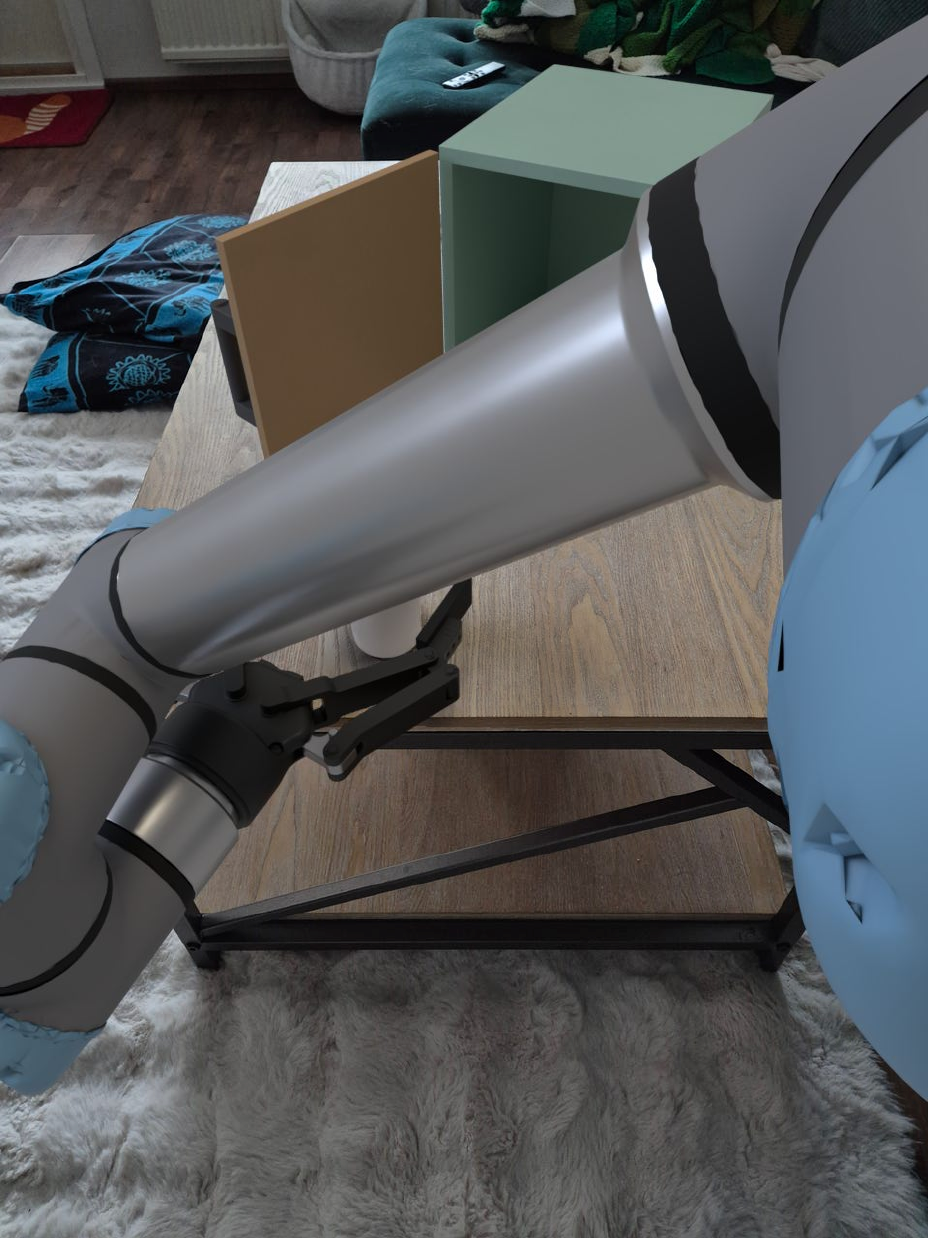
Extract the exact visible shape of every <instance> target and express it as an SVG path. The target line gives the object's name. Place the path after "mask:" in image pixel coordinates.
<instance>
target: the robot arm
mask: <svg viewBox="0 0 928 1238" xmlns="http://www.w3.org/2000/svg"><path fill="white" fill-rule="evenodd" d="M718 486H722V487H728V488H731V489H733V490H734V491H737V492H739V493H741V494H743V495H746V496H748V497H751V498H753V499H755V500H757V501H759V502H763V503H765V504H768V503H773V502H777V501H779V500H781V526H782V527H781V533H782V536H781V537H782V541H781V542H782V579H783V580H782V582H783V584H782V586H781V588H780V591H779V595H778V601H777V606H776V610H775V615H774V620H773V625H772V629H771V633H770V634H771V635H770V640H769V643H768V649H767V650H768V651H767V652H768V655H767V659H768V660H767V670H766V671H767V672H766V684H767V702H766V703H767V704H766V718H767V719H766V720H767V733H768V735H769V739H770V742H771V745H772V750H773V754H774V756H775V760H776V761H775V762H776V764H777V768H778V775H779V781H780V788H781V799H782V803H783V807H784V808H785V810H786V812H787V814H788V817H789V831H790V847H791V858H792V859H791V860H792V871H793V879H794V880H793V881H794V887H795V891H796V896H797V900H798V901H797V902H798V905H799V906H798V907H799V909H800V914H801V919H802V921H803V925H804V927H805V931H806V933H807V936H808V939H809V942H810V945H811V948H812V950H813V951H814V955H815V957H816V958H817V961H818V964H819V966H820V968H821V971H822V972H823V974H824V977H825V979H826V980H827V982H828V984H829V986H830V988H831V990H832V992H833V993H834V995H835V996H836V998H837V1000H838V1001H839V1003H840V1005H841V1007H842V1008H843V1011H845V1012H846V1014H847V1015H848V1017H849V1019H851V1021H852V1023H853V1024H854V1025H855V1027H856V1028H857V1029H858V1031H859V1032H860V1033H861V1034H862V1035H863V1037H864V1038H865V1039H866V1040H867V1041H868V1043H869V1044H870V1046H871V1047H872V1048H873V1049H874V1050H875V1051H876V1053H877V1054H878V1055H879V1056H880V1057H881V1059H882V1060H883V1061H884V1062H885V1063H886V1064H887V1065H888V1066H889V1068H891V1069H892V1070H893V1071H894V1072H895V1074H897V1075H898V1076H899V1078H901V1080H902V1081H904V1082H905V1084H906V1085H908V1086H909V1087H910V1088H911V1089H912V1090H913V1091H914V1092H916V1093H917V1094H918V1095H919V1096H920V1097H921V1098H922V1099H924V1100H925V1101H926V1102H927V1103H928V14H927V15H924V16H923V17H922V18H920V19H919V20H916V21H915V22H914V23H912V24H909V25H908V26H906V27H905V28H903V29H902V30H900V31H898V32H896V33H895V34H893V35H891V36H890V37H888V38H886V39H884V40H883V41H881V42H879V43H878V44H876V45H874V46H873V47H871V48H869V49H868V50H866V51H864V52H863V53H861V54H860V55H857V56H856V57H854V58H853V59H851V60H849V61H848V62H845V63H844V64H843V65H841V66H839V67H838V68H836V69H834V70H833V71H832V72H830V73H828V74H827V75H825V76H824V77H822V78H821V79H819V80H818V81H816V82H815V83H813V84H811V85H810V86H808V87H807V88H805V89H803V90H802V91H800V92H798V93H797V94H796V95H793V96H792V97H791V98H789V99H787V100H786V101H784V102H783V103H782V104H779V105H778V106H777V107H775V108H774V109H773V108H772V109H771V110H770V112H769V113H767V114H766V115H764V116H762V117H761V118H759V119H758V120H756V121H755V122H753V123H751V124H750V125H748V126H747V127H745V128H744V129H742V130H740V131H739V132H737V133H736V134H734V135H733V136H731V137H729V138H728V139H726V140H725V141H723V142H721V143H720V144H718V145H717V146H715V147H714V148H712V149H710V150H709V151H707V152H706V153H704V154H703V155H701V156H699V157H697V158H695V159H694V160H692V161H691V162H689V163H687V164H686V165H684V166H683V167H681V168H679V169H678V170H676V171H674V172H673V173H671V174H670V175H668V176H666V177H665V178H663V179H662V180H660V181H658V182H657V183H656V184H655V185H653V186H652V187H650V188H649V189H647V190H646V191H645V192H644V193H643V194H642V196H641V198H640V201H639V203H638V207H637V210H636V213H635V216H634V219H633V222H632V225H631V229H630V232H629V235H628V238H627V241H626V244H625V245H624V247H623V248H622V249H620V250H619V251H617V252H615V253H613V254H612V255H610V256H608V257H607V258H605V259H603V260H602V261H600V262H598V263H596V264H595V265H593V266H591V267H590V268H588V269H586V270H585V271H583V272H581V273H580V274H578V275H576V276H574V277H573V278H571V279H569V280H568V281H566V282H564V283H563V284H561V285H559V286H558V287H556V288H554V289H552V290H551V291H549V292H547V293H546V294H544V295H542V296H541V297H539V298H537V299H536V300H534V301H532V302H530V303H529V304H527V305H525V306H524V307H522V308H520V309H519V310H517V311H515V312H513V313H512V314H510V315H508V316H507V317H505V318H503V319H502V320H500V321H498V322H497V323H495V324H493V325H491V326H490V327H488V328H486V329H485V330H483V331H481V332H480V333H478V334H476V335H475V336H473V337H471V338H469V339H468V340H466V341H464V342H463V343H461V344H459V345H458V346H456V347H454V348H453V349H451V350H449V351H447V352H446V353H444V354H442V355H441V356H439V357H437V358H436V359H434V360H432V361H430V362H429V363H427V364H425V365H424V366H422V367H420V368H419V369H417V370H415V371H414V372H412V373H410V374H408V375H407V376H405V377H403V378H402V379H400V380H398V381H397V382H395V383H393V384H392V385H390V386H388V387H386V388H385V389H383V390H381V391H380V392H378V393H376V394H375V395H373V396H371V397H370V398H368V399H366V400H364V401H363V402H361V403H359V404H358V405H356V406H354V407H353V408H351V409H349V410H347V411H346V412H344V413H342V414H341V415H339V416H337V417H336V418H334V419H332V420H331V421H329V422H327V423H325V424H324V425H322V426H320V427H319V428H317V429H315V430H314V431H312V432H310V433H309V434H307V435H305V436H303V437H302V438H300V439H298V440H297V441H295V442H293V443H292V444H290V445H288V446H287V447H285V448H283V449H281V450H280V451H278V452H276V453H275V454H273V455H271V456H270V457H268V458H266V459H264V458H263V460H261V461H259V462H258V463H256V464H254V465H252V466H250V467H249V468H247V469H246V470H244V471H243V472H241V473H239V474H237V475H236V476H234V477H232V478H231V479H229V480H227V481H226V482H224V483H222V484H221V485H219V486H217V487H216V488H214V489H212V490H210V491H209V492H207V493H205V494H203V495H202V496H200V497H199V498H197V499H195V500H193V501H192V502H190V503H188V504H187V505H185V506H183V507H181V508H180V509H178V510H175V509H172V508H168V507H159V508H155V509H150V508H147V507H143V506H142V507H135V508H132V509H129V510H126V511H124V512H123V513H121V514H119V515H118V516H117V517H115V518H114V519H113V520H112V521H111V522H110V524H108V525H107V526H106V528H105V529H104V530H103V531H102V533H100V535H98V536H97V537H96V538H94V539H93V540H92V541H91V542H90V543H89V544H87V545H86V546H85V547H84V548H83V549H82V551H81V552H80V553H79V554H78V556H77V557H76V559H75V562H74V565H73V566H72V568H71V570H70V572H69V573H68V574H67V576H66V577H65V578H64V579H63V580H62V582H61V583H60V585H59V586H58V587H57V589H56V590H55V591H54V593H53V594H52V595H51V597H50V598H49V599H48V600H47V602H46V603H45V604H44V606H43V607H42V608H41V609H40V611H39V612H38V614H37V615H36V616H35V617H34V618H33V620H32V621H31V623H30V624H29V625H28V626H27V628H26V629H25V631H24V632H23V633H22V634H21V636H20V637H19V639H18V640H17V641H16V643H14V645H13V646H12V647H11V648H10V650H9V652H8V653H6V654H5V656H4V657H3V658H2V659H1V661H0V1082H1V1083H3V1084H4V1085H6V1086H7V1087H9V1088H10V1089H12V1090H14V1091H15V1092H16V1093H18V1094H19V1095H23V1096H37V1095H41V1094H43V1093H45V1092H47V1091H48V1090H50V1089H52V1088H53V1087H54V1086H55V1085H56V1084H57V1083H58V1082H59V1081H60V1079H61V1078H62V1076H64V1074H65V1073H66V1072H67V1070H68V1069H69V1068H70V1067H71V1065H73V1063H74V1062H75V1061H76V1059H77V1058H78V1057H79V1055H80V1054H81V1053H82V1052H83V1050H84V1049H85V1048H86V1046H88V1044H89V1043H90V1042H91V1041H92V1039H95V1038H96V1037H98V1036H99V1035H100V1034H102V1032H103V1030H104V1029H105V1028H106V1026H107V1024H108V1020H109V1019H110V1018H111V1016H112V1015H113V1013H114V1012H115V1011H116V1009H117V1008H118V1007H119V1005H120V1003H121V1002H122V1001H123V999H124V998H125V997H126V995H127V994H128V992H129V991H130V990H131V988H132V987H133V986H134V984H135V983H136V982H137V980H138V978H140V976H141V974H142V972H144V970H145V969H146V967H147V966H148V965H149V963H150V961H152V959H153V958H154V957H155V955H156V954H157V952H158V951H159V949H160V948H161V946H162V945H163V944H164V942H165V941H166V939H167V938H168V937H169V935H170V934H171V933H172V931H173V930H174V928H175V927H176V926H177V924H178V923H179V921H180V920H181V919H182V918H183V916H184V914H185V912H186V911H187V910H188V908H189V907H190V906H191V904H193V902H194V901H195V899H196V898H197V897H198V896H199V895H200V893H201V892H202V890H204V887H205V886H206V885H207V883H208V882H209V881H210V879H211V878H212V877H213V875H214V874H215V873H216V872H217V871H218V869H219V867H220V866H221V865H222V863H223V862H224V861H225V859H226V858H227V857H228V855H229V854H230V852H232V850H233V848H234V847H235V846H236V845H237V843H238V842H239V837H240V834H239V830H242V829H244V828H248V827H250V826H251V825H252V824H253V822H254V821H255V819H256V818H257V817H258V815H260V813H261V811H262V810H263V808H264V807H265V806H266V804H267V803H268V801H269V800H270V799H271V798H272V796H273V795H274V793H275V792H276V791H277V790H278V788H279V787H280V786H281V783H282V782H283V780H284V778H285V777H286V774H287V773H288V771H289V770H290V768H291V767H292V766H293V765H294V764H295V763H297V762H298V761H300V760H302V759H304V758H308V759H309V760H311V761H313V762H314V763H316V764H318V765H319V766H321V767H323V768H324V769H326V773H327V777H328V779H329V780H330V781H331V782H334V783H340V782H343V781H344V780H346V779H347V778H348V776H349V775H350V774H351V773H352V772H353V771H354V769H356V767H358V765H359V764H360V762H361V761H362V760H363V759H364V758H365V757H367V756H369V755H371V754H372V753H373V752H375V751H377V750H379V749H380V748H382V747H384V746H386V744H388V743H390V742H392V741H393V740H395V739H397V738H398V737H400V736H402V735H403V734H405V733H406V732H408V731H410V730H412V729H413V728H415V727H416V726H418V725H420V724H421V723H423V722H424V721H426V720H428V719H429V718H431V717H433V716H434V715H437V714H438V713H440V712H441V711H443V710H444V709H446V708H448V707H450V706H451V705H453V704H454V703H456V702H457V701H458V700H459V699H460V697H461V676H460V668H459V666H457V665H456V664H455V663H449V661H450V660H451V658H452V656H453V655H454V653H455V652H456V651H457V649H458V647H459V646H460V644H461V643H462V642H463V620H462V619H463V618H464V616H465V615H466V614H467V612H468V611H469V609H470V607H471V606H472V605H473V578H475V577H477V576H481V575H483V574H485V573H488V572H490V571H491V572H492V571H494V570H496V569H500V568H502V567H504V566H507V565H510V564H512V563H515V562H517V561H521V560H523V559H526V558H529V557H531V556H533V555H536V554H539V553H542V552H544V551H546V550H547V551H548V550H550V549H552V548H555V547H558V546H561V545H564V544H565V543H568V542H571V541H574V540H577V539H579V538H582V537H584V536H588V535H589V534H593V533H595V532H598V531H600V530H603V529H606V528H608V527H611V526H615V525H616V524H619V523H621V522H624V521H627V520H629V519H632V518H635V517H638V516H640V515H644V514H645V513H648V512H651V511H654V510H656V509H659V508H662V507H664V506H667V505H670V504H673V503H675V502H677V501H678V502H679V501H681V500H683V499H686V498H688V497H691V496H693V495H696V494H699V493H702V492H704V491H707V490H710V489H712V488H715V487H718ZM448 587H451V588H450V589H449V590H448V592H447V593H446V594H445V596H444V597H443V599H442V600H441V602H440V603H439V604H438V606H437V608H436V609H435V610H434V612H433V613H432V615H431V616H430V617H429V619H428V620H427V622H425V625H423V626H422V630H421V631H420V633H419V634H418V636H417V637H416V645H415V647H416V650H413V651H409V652H406V653H405V654H403V655H400V656H397V657H392V658H388V659H385V660H382V661H380V662H377V663H374V664H371V665H368V666H364V667H361V668H358V669H355V670H352V671H350V672H345V673H343V674H340V675H337V676H334V677H329V676H328V675H320V676H317V677H314V678H311V679H308V680H305V679H304V676H303V675H302V674H299V673H297V672H295V671H291V670H286V669H280V668H279V667H278V666H276V665H275V664H274V663H273V662H271V661H269V660H266V659H263V658H261V657H263V656H267V655H269V654H272V653H274V652H277V651H279V650H282V649H285V648H288V647H290V646H293V645H297V644H299V643H302V642H304V641H306V640H309V639H313V638H314V637H318V636H320V635H322V634H325V633H328V632H331V631H333V630H336V629H339V628H341V627H344V626H347V625H349V624H351V623H352V622H355V621H357V620H360V619H363V618H365V617H368V616H371V615H373V614H376V613H379V612H381V611H384V610H387V609H390V608H392V607H395V606H398V605H400V604H403V603H406V602H408V601H411V600H414V599H416V598H419V597H422V598H423V597H425V596H427V595H429V594H432V593H435V592H437V591H440V590H442V589H445V588H448ZM259 658H260V659H259ZM256 659H259V661H253V660H256ZM316 700H320V702H321V705H320V706H319V707H317V708H314V701H316ZM178 703H181V704H179V705H177V706H176V707H175V708H174V709H173V710H172V711H171V709H172V708H173V706H175V705H176V704H178ZM364 709H366V710H364ZM362 710H364V711H363V712H361V713H360V714H357V715H356V716H354V717H353V718H351V719H350V720H348V721H347V722H346V723H345V724H343V725H342V726H341V727H340V728H337V727H332V728H331V727H330V726H332V725H335V724H337V723H338V722H339V721H340V719H341V718H342V717H344V716H348V715H351V714H353V713H357V712H358V711H362ZM170 711H171V712H170ZM169 712H170V713H169ZM327 727H330V728H329V730H328V731H327V733H326V734H325V735H322V736H318V735H317V736H316V731H318V730H320V729H323V728H327Z"/></svg>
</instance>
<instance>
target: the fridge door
mask: <svg viewBox="0 0 928 1238" xmlns="http://www.w3.org/2000/svg"><path fill="white" fill-rule="evenodd" d="M440 214H441V209H440V172H439V151H435V150H432V149H428V150H425V151H423V152H420V153H418V154H416V155H413V156H410V157H408V158H406V159H403V160H401V161H399V162H396V163H393V164H391V165H389V166H387V167H383V168H381V169H378V170H377V171H374V172H371V173H370V174H369V173H368V174H367V175H365V176H361V177H359V178H356V179H354V180H352V181H349V182H348V183H345V184H343V185H340V186H337V187H335V188H332V189H330V190H328V191H325V192H323V193H321V194H318V195H316V196H312V197H310V198H308V199H306V200H303V201H301V202H298V203H296V204H293V205H291V206H289V207H287V208H283V209H281V210H279V211H276V212H274V213H272V214H271V213H270V214H269V215H267V216H264V217H261V218H259V219H256V220H254V221H252V222H249V223H248V224H245V225H242V226H240V227H238V228H235V229H233V230H230V231H228V232H225V233H222V234H221V235H218V236H215V237H214V241H215V247H216V250H217V256H218V259H219V264H220V268H221V273H222V277H223V282H224V287H225V291H226V295H227V298H216V299H213V300H212V301H210V302H209V307H210V312H211V316H212V321H213V325H214V329H215V333H216V336H217V337H216V338H217V341H218V345H219V349H220V353H221V358H222V361H223V366H224V369H225V374H226V378H227V382H228V386H229V390H230V395H231V398H232V403H233V406H234V411H235V415H236V416H237V417H239V418H240V419H242V420H244V421H245V422H247V423H248V424H250V425H252V426H254V427H255V428H256V430H257V433H258V437H259V442H260V447H261V451H262V455H263V460H264V459H266V458H268V457H270V456H271V455H273V454H275V453H276V452H278V451H280V450H281V449H283V448H285V447H287V446H288V445H290V444H292V443H293V442H295V441H297V440H298V439H300V438H302V437H303V436H305V435H307V434H309V433H310V432H312V431H314V430H315V429H317V428H319V427H320V426H322V425H324V424H325V423H327V422H329V421H331V420H332V419H334V418H336V417H337V416H339V415H341V414H342V413H344V412H346V411H347V410H349V409H351V408H353V407H354V406H356V405H358V404H359V403H361V402H363V401H364V400H366V399H368V398H370V397H371V396H373V395H375V394H376V393H378V392H380V391H381V390H383V389H385V388H386V387H388V386H390V385H392V384H393V383H395V382H397V381H398V380H400V379H402V378H403V377H405V376H407V375H408V374H410V373H412V372H414V371H415V370H417V369H419V368H420V367H422V366H424V365H425V364H427V363H429V362H430V361H432V360H434V359H436V358H437V357H439V356H441V355H442V354H444V318H443V282H442V245H441V229H440Z"/></svg>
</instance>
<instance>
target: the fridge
mask: <svg viewBox="0 0 928 1238" xmlns="http://www.w3.org/2000/svg"><path fill="white" fill-rule="evenodd" d="M774 96H775V95H774V94H770V93H763V92H755V91H747V90H741V89H735V88H734V89H733V88H727V87H719V86H712V85H706V84H698V83H691V82H685V81H676V80H670V79H663V78H657V77H649V76H648V77H647V76H640V75H634V74H627V73H618V72H613V71H612V72H611V71H605V70H598V69H591V68H584V67H577V66H569V65H563V64H562V65H561V64H552V65H551V66H549V67H548V68H546V69H545V70H544V71H542V72H541V73H540V74H538V75H536V76H535V77H534V78H532V79H531V80H530V81H528V82H527V83H526V84H524V85H522V86H521V87H520V88H518V89H517V90H516V91H514V92H513V93H511V94H509V96H507V97H505V98H504V99H503V100H501V101H500V102H498V103H497V104H496V105H494V106H492V108H490V109H489V110H487V111H486V112H484V113H482V114H481V115H480V116H479V117H477V118H476V119H474V120H473V121H472V122H470V123H469V124H467V125H466V126H465V127H463V128H462V129H460V130H459V131H458V132H456V133H455V134H453V135H452V136H451V137H449V138H447V139H446V140H445V141H443V142H442V143H441V144H439V145H438V157H439V193H440V214H441V265H442V300H443V336H444V353H446V352H447V351H449V350H451V349H453V348H454V347H456V346H458V345H459V344H461V343H463V342H464V341H466V340H468V339H469V338H471V337H473V336H475V335H476V334H478V333H480V332H481V331H483V330H485V329H486V328H488V327H490V326H491V325H493V324H495V323H497V322H498V321H500V320H502V319H503V318H505V317H507V316H508V315H510V314H512V313H513V312H515V311H517V310H519V309H520V308H522V307H524V306H525V305H527V304H529V303H530V302H532V301H534V300H536V299H537V298H539V297H541V296H542V295H544V294H546V293H547V292H549V291H551V290H552V289H554V288H556V287H558V286H559V285H561V284H563V283H564V282H566V281H568V280H569V279H571V278H573V277H574V276H576V275H578V274H580V273H581V272H583V271H585V270H586V269H588V268H590V267H591V266H593V265H595V264H596V263H598V262H600V261H602V260H603V259H605V258H607V257H608V256H610V255H612V254H613V253H615V252H617V251H619V250H620V249H622V248H623V247H624V245H625V244H626V241H627V238H628V235H629V232H630V229H631V225H632V222H633V219H634V216H635V213H636V210H637V207H638V203H639V201H640V198H641V196H642V194H643V193H644V192H645V191H646V190H647V189H649V188H650V187H652V186H653V185H655V184H656V183H657V182H658V181H660V180H662V179H663V178H665V177H666V176H668V175H670V174H671V173H673V172H674V171H676V170H678V169H679V168H681V167H683V166H684V165H686V164H687V163H689V162H691V161H692V160H694V159H695V158H697V157H699V156H701V155H703V154H704V153H706V152H707V151H709V150H710V149H712V148H714V147H715V146H717V145H718V144H720V143H721V142H723V141H725V140H726V139H728V138H729V137H731V136H733V135H734V134H736V133H737V132H739V131H740V130H742V129H744V128H745V127H747V126H748V125H750V124H751V123H753V122H755V121H756V120H758V119H759V118H761V117H762V116H764V115H766V114H767V113H769V112H770V111H771V110H772V105H773V101H774Z"/></svg>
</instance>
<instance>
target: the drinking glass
mask: <svg viewBox="0 0 928 1238" xmlns="http://www.w3.org/2000/svg"><path fill="white" fill-rule="evenodd" d="M422 598H423V596H422V597H419V598H416V599H414V600H411V601H408V602H406V603H403V604H400V605H398V606H395V607H392V608H390V609H387V610H384V611H381V612H379V613H376V614H373V615H371V616H368V617H365V618H363V619H360V620H357V621H355V622H352V623H350V629H351V635H352V638H353V641H354V643H355V645H356V646H357V647H358V648H359V649H360V650H361V651H362V652H363V653H365V654H367V655H369V656H371V657H373V658H378V659H379V658H380V659H392V658H395V657H398V656H401V655H404V654H407V653H409V652H410V651H411V650H412V649H413V648H414V647H416V637H417V636H418V634H419V633H420V631H421V630H422V629H423V625H422V623H423V622H422Z"/></svg>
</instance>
